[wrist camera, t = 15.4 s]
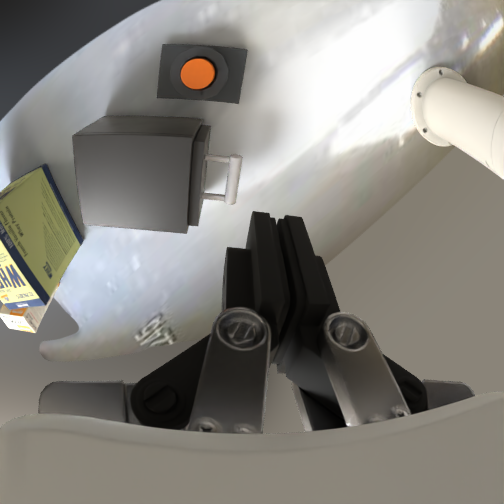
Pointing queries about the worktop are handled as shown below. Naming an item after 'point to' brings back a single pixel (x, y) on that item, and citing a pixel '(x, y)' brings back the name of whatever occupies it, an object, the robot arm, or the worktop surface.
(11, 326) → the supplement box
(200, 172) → the drawer
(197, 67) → the button
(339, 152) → the worktop surface
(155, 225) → the dark grey cabinet
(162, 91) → the block
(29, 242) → the protein box
